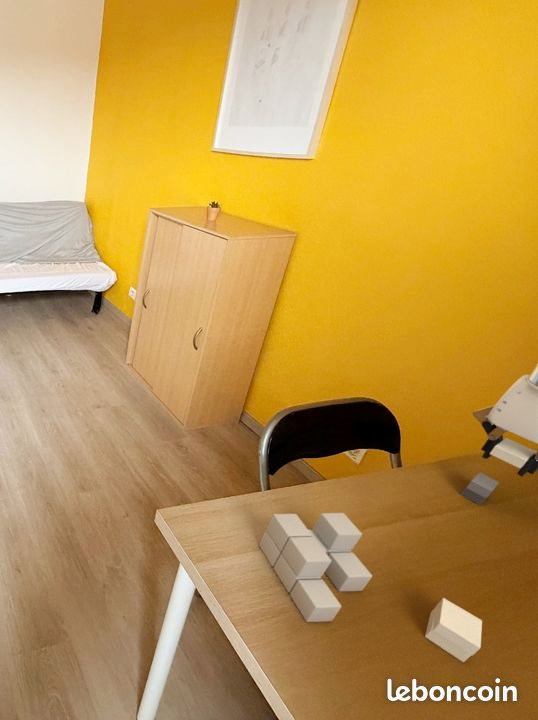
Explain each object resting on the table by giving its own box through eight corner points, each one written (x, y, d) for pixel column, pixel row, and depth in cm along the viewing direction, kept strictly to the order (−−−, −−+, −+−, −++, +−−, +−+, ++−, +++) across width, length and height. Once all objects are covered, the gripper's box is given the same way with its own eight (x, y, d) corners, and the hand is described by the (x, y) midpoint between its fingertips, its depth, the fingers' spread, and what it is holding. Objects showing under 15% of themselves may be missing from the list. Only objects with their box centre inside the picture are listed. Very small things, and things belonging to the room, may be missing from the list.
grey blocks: (468, 486, 83) (479, 471, 81) (489, 497, 81) (501, 483, 79) (458, 494, 81) (469, 479, 80) (479, 506, 79) (491, 491, 77)
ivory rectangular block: (429, 612, 62) (443, 596, 60) (468, 636, 59) (484, 621, 57) (423, 637, 59) (437, 621, 57) (464, 664, 56) (480, 648, 54)
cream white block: (500, 445, 79) (506, 437, 78) (530, 459, 75) (537, 451, 74) (489, 453, 77) (494, 445, 76) (520, 468, 73) (526, 460, 72)
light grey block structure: (306, 622, 60) (327, 590, 56) (258, 544, 71) (273, 513, 67) (384, 620, 61) (410, 588, 57) (325, 543, 71) (343, 512, 68)
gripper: (656, 405, 63) (581, 490, 72) (503, 354, 77) (454, 430, 85) (643, 419, 60) (566, 506, 69) (486, 363, 74) (437, 441, 82)
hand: (504, 463), depth 77 cm, fingers closed on cream white block, 4 cm apart
